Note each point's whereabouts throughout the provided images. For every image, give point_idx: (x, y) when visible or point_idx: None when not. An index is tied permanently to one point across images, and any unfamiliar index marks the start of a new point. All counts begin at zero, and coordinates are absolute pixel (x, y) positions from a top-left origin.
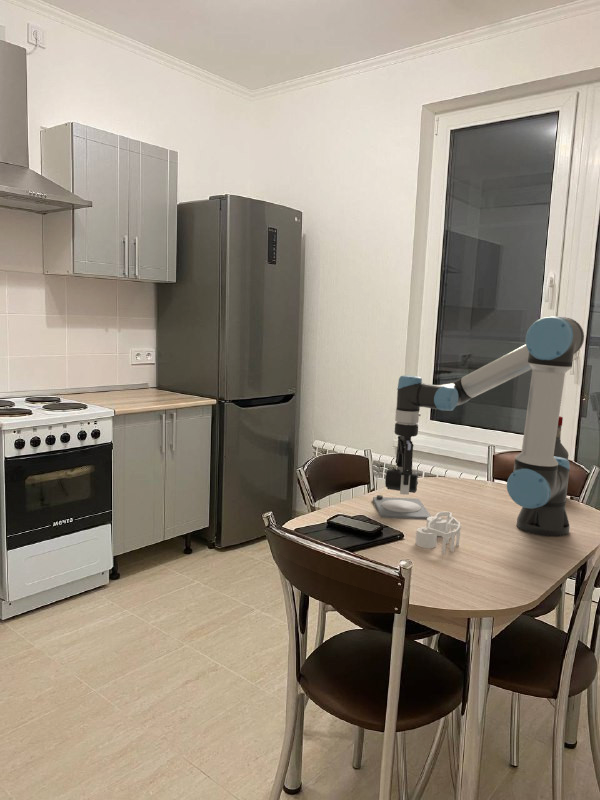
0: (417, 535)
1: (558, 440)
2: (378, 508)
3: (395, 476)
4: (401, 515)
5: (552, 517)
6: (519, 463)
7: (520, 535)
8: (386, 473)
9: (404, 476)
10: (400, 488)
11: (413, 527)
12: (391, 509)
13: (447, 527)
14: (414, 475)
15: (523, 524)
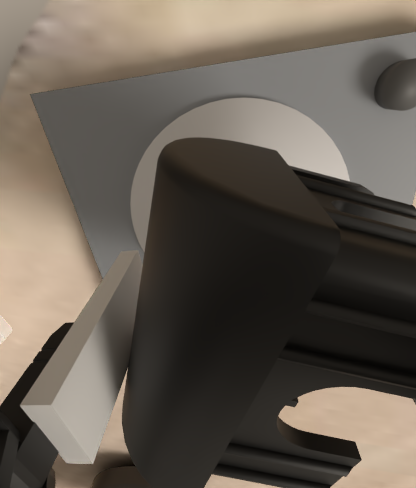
0: None
1: None
2: (158, 73)
3: (148, 301)
4: (81, 209)
5: None
6: None
7: (107, 452)
8: (200, 181)
9: (2, 408)
10: (122, 274)
11: (22, 242)
12: (147, 162)
13: None
14: (144, 471)
15: (109, 485)
